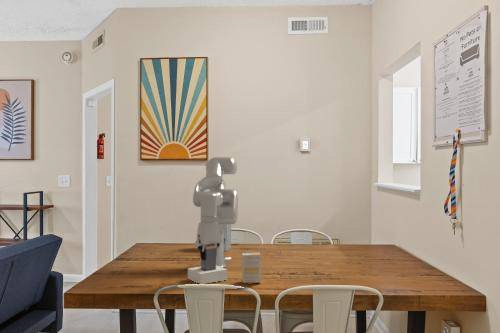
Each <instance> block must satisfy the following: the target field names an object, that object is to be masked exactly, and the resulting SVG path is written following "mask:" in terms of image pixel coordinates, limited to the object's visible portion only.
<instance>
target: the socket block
mask: <svg viewBox="0 0 500 333" xmlns="http://www.w3.org/2000/svg"><path fill="white" fill-rule="evenodd" d="M188 279H190V280H192V281H194V282H193V283H195V282H196V283H195V284H197V283H200V284H205V283H211V284H213V283H212V282H216V283H219V282H218V281H221V282H225V281H224V280H226V281H228V269H227V268H226V267H224V268H222V267H219V266H217V265H216V270H210V271H203V270H201V265H200V266H194V267H189V268H187V280H188ZM190 280H189V281H190ZM192 281H191V282H192ZM205 285H206V284H205Z"/></svg>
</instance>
